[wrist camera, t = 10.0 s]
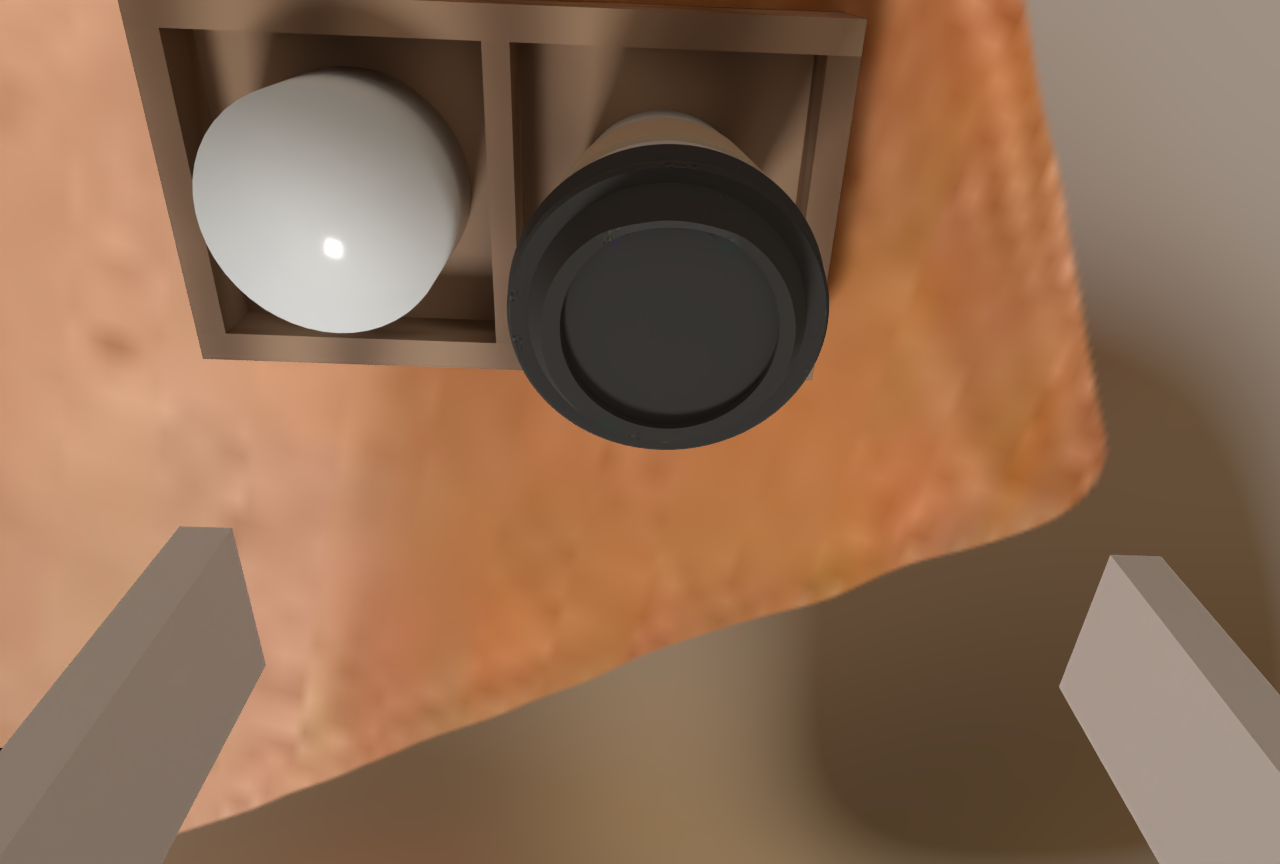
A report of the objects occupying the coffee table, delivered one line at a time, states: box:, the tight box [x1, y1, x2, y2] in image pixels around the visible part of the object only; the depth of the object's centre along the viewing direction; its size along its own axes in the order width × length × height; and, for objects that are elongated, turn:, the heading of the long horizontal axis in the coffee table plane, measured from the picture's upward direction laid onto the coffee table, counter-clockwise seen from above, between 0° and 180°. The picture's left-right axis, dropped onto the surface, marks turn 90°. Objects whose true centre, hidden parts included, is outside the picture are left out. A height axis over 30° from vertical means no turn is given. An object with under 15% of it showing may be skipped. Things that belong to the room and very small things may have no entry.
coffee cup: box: [507, 110, 829, 450], centre depth 29 cm, size 9×9×15 cm
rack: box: [118, 0, 867, 380], centre depth 34 cm, size 26×14×4 cm, turn 88°
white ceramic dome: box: [192, 66, 471, 333], centre depth 33 cm, size 9×9×5 cm
